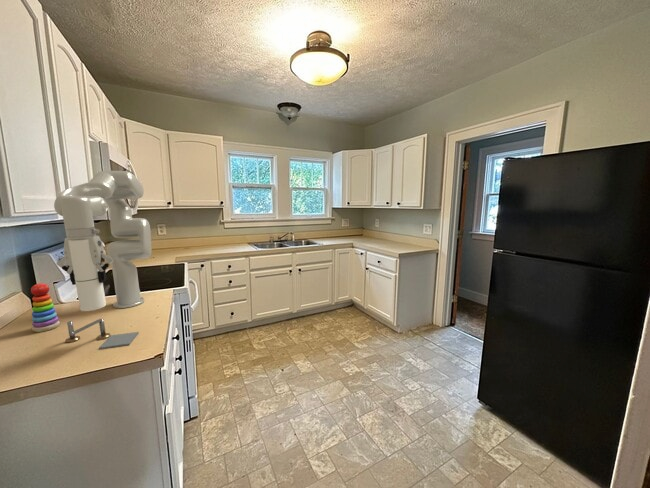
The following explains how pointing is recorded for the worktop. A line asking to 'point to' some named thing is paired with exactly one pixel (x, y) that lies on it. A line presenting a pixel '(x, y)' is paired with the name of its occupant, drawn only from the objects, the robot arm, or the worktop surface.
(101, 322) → the metal linkage
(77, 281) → the cylindrical container
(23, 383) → the worktop surface
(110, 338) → the mat
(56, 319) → the stacking toy
